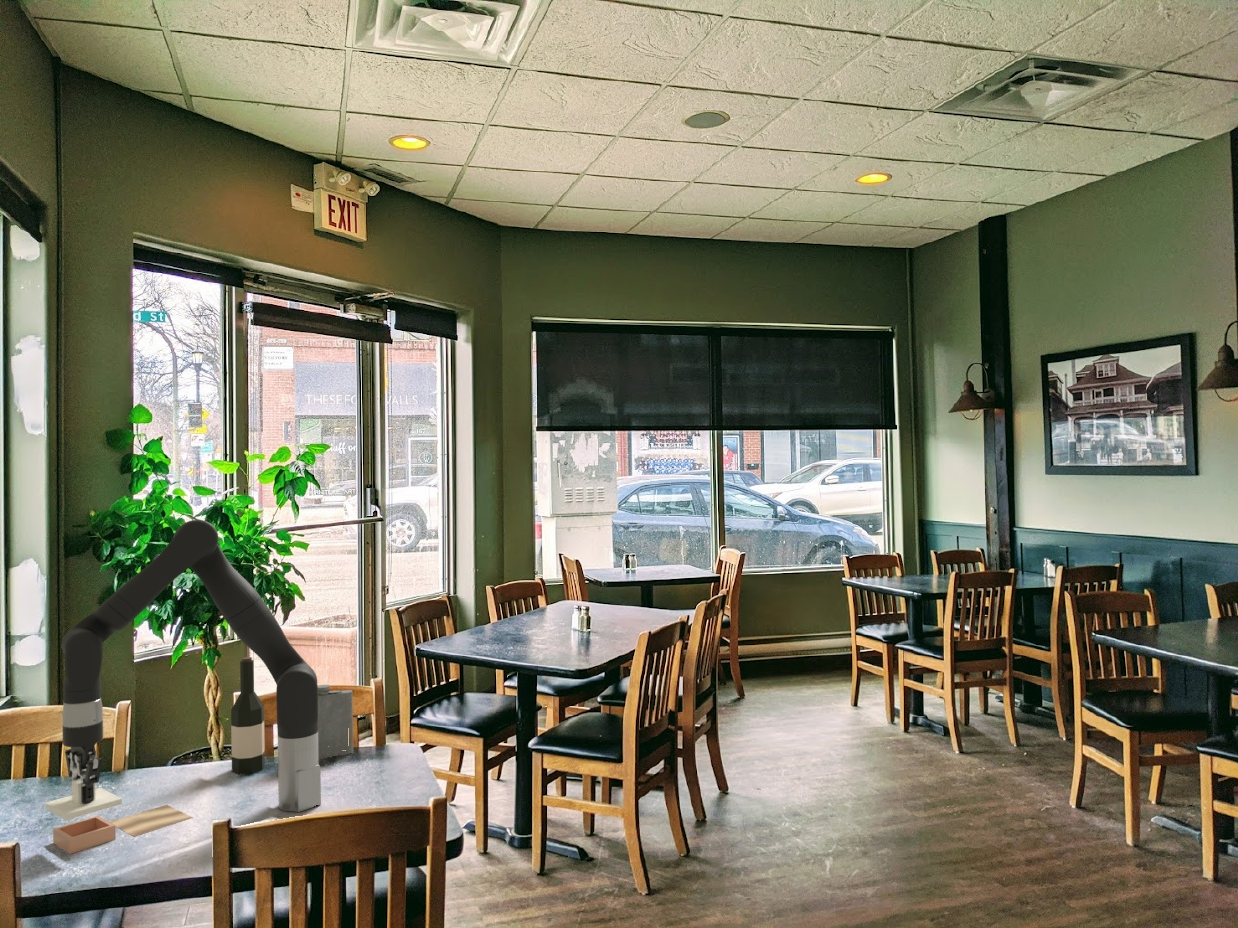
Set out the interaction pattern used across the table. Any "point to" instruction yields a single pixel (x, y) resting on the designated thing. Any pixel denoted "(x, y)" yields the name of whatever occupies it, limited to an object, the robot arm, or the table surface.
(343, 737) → the hip flask
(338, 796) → the table surface
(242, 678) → the wine bottle
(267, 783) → the table surface
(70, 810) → the lid
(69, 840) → the dish
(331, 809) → the table surface
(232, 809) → the table surface
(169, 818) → the mat
